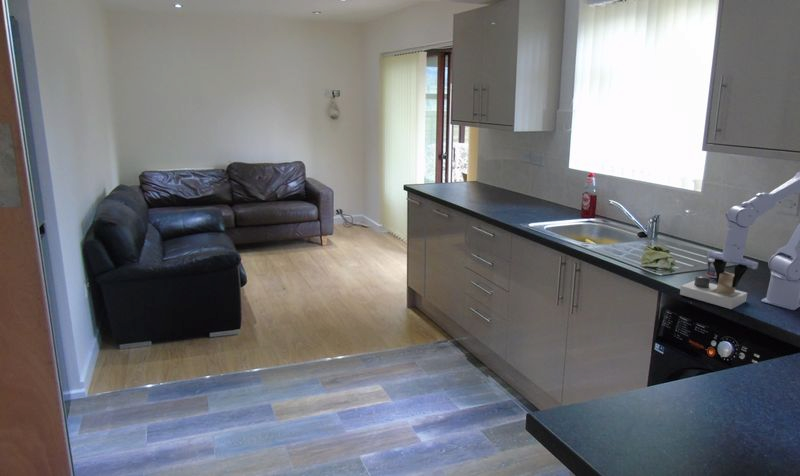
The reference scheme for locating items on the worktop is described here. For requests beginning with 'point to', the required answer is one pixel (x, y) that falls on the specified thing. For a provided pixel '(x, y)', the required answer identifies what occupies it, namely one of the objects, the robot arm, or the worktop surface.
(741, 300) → the white tray
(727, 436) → the worktop surface
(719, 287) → the plug block
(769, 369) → the worktop surface
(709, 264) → the pill bottle
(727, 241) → the robot arm
